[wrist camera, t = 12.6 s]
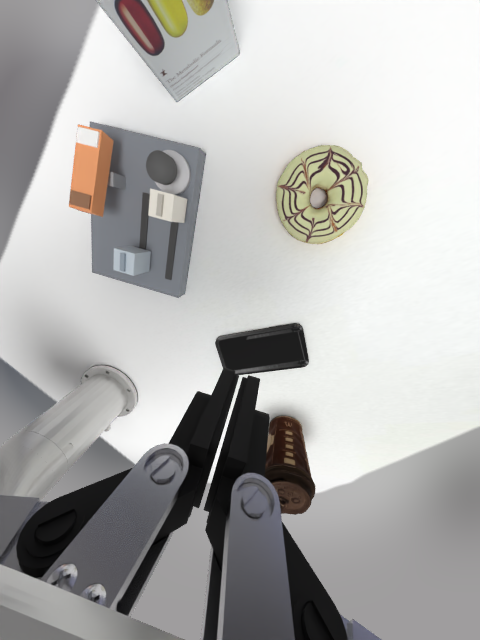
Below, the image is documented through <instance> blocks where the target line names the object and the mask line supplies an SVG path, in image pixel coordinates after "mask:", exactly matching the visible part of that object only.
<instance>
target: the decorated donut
mask: <svg viewBox="0 0 480 640" xmlns="http://www.w3.org/2000/svg"><path fill="white" fill-rule="evenodd" d="M367 184H368V177H367V175H366V173H365V172H364V171H363V170H362V163H361V162H360V161H358V160H357V159H356V158H354V157H353V156H352V155H351V154H350V153H349V152H348V151H347V150H345V149H343V148H342V147H339V146H335V145H321V146H318V147H314V148H311V149H309V150H307V151H304V152H303V153H301V154H300V155H298V156H297V157H296V158H294V159H293V160H292V161H291V162H290V163H289V164H288V165H287V167H286V168H285V170H284V172H283V174H282V175H281V177H280V179H279V181H278V184H277V192H276V201H277V208H278V214H279V217H280V219H281V222H282V223H283V225H284V227H285V228H286V230H287V231H288V232H289V234H290V235H291V236H293V237H294V238H296V239H297V240H300V241H303V242H306V243H311V244H322V243H326V242H329V241H331V240H333V239H335V238H336V237H339V236H340V235H342V234H343V233H344V232H346V231H347V230H349V229H350V228H351V227H352V226H353V225H354V224H355V223H356V222H357V220H358V219H359V218H360V215H361V214H362V211H363V209H364V207H365V203H366V197H367ZM315 188H321V189H323V190H325V191H326V193H327V198H328V199H327V203H326V204H325V205H324V206H323V207H321V208H318V209H315V208H313V207H312V206H311V204H310V196H311V193H312V191H313V190H314V189H315Z"/></svg>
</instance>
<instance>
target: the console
mask: <svg viewBox="0 0 480 640" xmlns="http://www.w3.org/2000/svg"><path fill="white" fill-rule="evenodd" d="M90 127H91V128H95V129H99V130H102V131H103V132H104V133H106V134H107V135H108V136H109V137H110V138H111V139H112V140H113V141H114V142H113V149H112V156H111V163H110V170H109V177H108V184H107V191H106V198H105V206H104V213H103V217H101V216H97V215H93V214H91V229H92V272H93V273H96V274H100V275H103V276H106V277H110V278H113V279H117V280H120V281H123V282H127V283H130V284H134V285H137V286H140V287H144V288H147V289H150V290H154V291H157V292H161V293H164V294H167V295H171V296H174V297H177V298H179V297H181V296H182V295H184V294H185V289H186V282H187V276H188V269H189V262H190V256H191V249H192V243H193V236H194V229H195V223H196V216H197V209H198V203H199V196H200V189H201V183H202V176H203V170H204V163H205V156H206V154H205V153H204V152H203V151H202V150H201V149H200V148H198V147H194V146H189V145H185V144H181V143H177V142H173V141H169V140H165V139H160V138H156V137H152V136H148V135H144V134H140V133H136V132H131V131H127V130H123V129H119V128H115V127H111V126H107V125H102V124H98V123H94V122H90ZM155 150H160V151H163V152H164V153H166V154H167V155H169V156H170V157H172V158H173V159H174V161H175V163H176V165H177V177H176V179H175V181H174V182H173V183H171V184H169V185H163V184H160V183H158V182H155V181H154V180H152V179H151V178H150V176H149V175H148V173H147V169H146V161H147V157H148V156H149V154H150V153H151V152H153V151H155ZM150 188H151V189H154V190H158V191H162V192H166V193H170V194H174V195H177V196H180V197H183V198H186V199H187V206H186V214H185V221H184V223H179V222H170V221H166V220H162V219H159V218H155V217H151V216H148V213H149V199H150ZM128 246H134V247H137V248H141V249H144V250H148V251H151V256H150V268H149V271H148V272H145V273H141V274H138V275H135V276H132V275H129V274H126V273H122V272H119V271H115V270H113V265H114V248H118V247H128Z"/></svg>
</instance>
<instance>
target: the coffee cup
mask: <svg viewBox="0 0 480 640" xmlns="http://www.w3.org/2000/svg"><path fill="white" fill-rule="evenodd" d="M265 478H266V479H268V480H269V481H270V483H271V484H272V485H273V486H274V488H275V490H276V492H277V494H278V498H279V502H280V510H281V514H282V513H287V514H302V513H304V512H305V511H306V510H307V509H308V508H309V507H310V505H311V500H312V499H313V497H314V494H315V484H314V482H313V480H312V478H311V473H310V468H309V463H308V458H307V452H306V449H305V442H304V436H303V433H302V426H301V424H300V422H299V421H298V420H296V419H294V418H292V417H288V416H279V417H276V418H274V419H273V420H272V421H271V422H270V425H269V435H268V442H267V454H266V466H265Z"/></svg>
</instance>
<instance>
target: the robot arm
mask: <svg viewBox="0 0 480 640" xmlns="http://www.w3.org/2000/svg"><path fill="white" fill-rule="evenodd" d="M238 378H239V376H238V375H235V371H233V370H230V369H227V368H224V369H223V371H222V373H221V375H220V377H219V380H218V382H217V384H216V386H215V389H214V391H213V393H212V395H208V394H205V393H202V392H199V391H198V392H197V393H196V394H195V396H194V398H193V400H192V402H191V404H190V405H189V407H188V409H187V411H186V413H185V415H184V416H183V418H182V420H181V422H180V424H179V426H178V427H177V429H176V431H175V433H174V435H173V437H172V438H171V440H170V442H169V444H161V445H157V446H155V447H153V448H151V449H150V450H149V451H147V452H146V453H145V454H144V455H143V457H142V458H141V459H140V460H139V461H138V463H137V464H136V465H135V466H134V467H133V468H131V469H129V470H126V471H124V472H121V473H119V474H116V475H114V476H111V477H109V478H106V479H104V480H101V481H99V482H96V483H94V484H91V485H89V486H86V487H84V488H81V489H79V490H76V491H74V492H71V493H69V494H67V495H64V496H61V497H59V498H57V499H55V500H53V501H51V502H41V501H42V499H43V498H44V497H45V496H46V495H47V494H48V492H49V491H50V490H51V489H52V488H53V487H54V486H55V485H56V483H57V482H58V481H59V480H60V479H61V478H62V477H63V476H64V474H65V473H66V472H67V471H68V470H69V469H70V468H71V467H72V466H73V465H74V464H75V462H76V461H77V460H78V459H79V458H80V457H81V456H82V455H83V454H84V453H85V451H86V450H87V449H88V448H89V447H90V446H91V445H92V444H93V443H94V441H95V440H96V439H97V438H98V437H99V436H100V435H101V434H102V433H103V432H104V431H109V430H110V424H111V423H112V422H113V420H114V419H115V418H116V417H121V416H125V415H127V414H129V413H130V412H131V411H132V410H133V409H134V408H135V406H136V404H137V392H136V389H135V387H134V385H133V383H132V382H131V381H130V379H129V378H128V377H127V376H126V375H124V374H123V373H122V372H120V371H119V370H117V369H115V368H112V367H109V366H104V365H99V366H94V367H92V368H90V369H89V370H87V371H86V372H85V373H84V374H83V376H82V379H81V385H80V386H79V387H77V388H76V389H75V390H73V391H72V392H71V393H69V394H68V395H67V396H65V397H64V398H63V399H61V400H60V401H59V402H57V403H56V404H55V405H53V406H52V407H51V408H49V409H48V410H47V411H45V412H44V413H43V414H42V415H41V416H39V417H38V418H36V419H35V420H33V421H32V422H31V423H29V424H28V425H27V426H25V427H24V428H23V429H22V430H20V431H19V432H17V433H16V434H15V435H14V436H12V437H11V438H10V439H8V440H7V441H6V442H5V443H4V444H3V445H2V446H1V447H0V640H184V639H181V638H179V637H177V636H174V635H172V634H170V633H167V632H165V631H162V630H160V629H157V628H155V627H153V626H150V625H148V624H146V623H143V622H141V621H138V620H136V619H133V618H131V615H132V613H133V611H134V609H135V607H136V605H137V603H138V602H139V599H140V597H141V596H142V594H143V592H144V590H145V587H146V586H147V584H148V582H149V580H150V578H151V576H152V574H153V572H154V570H155V568H156V566H157V564H158V562H159V560H160V558H161V556H162V554H163V552H164V550H165V548H166V546H167V544H168V542H169V540H170V539H171V537H172V534H173V531H174V530H176V529H178V528H180V527H181V526H183V525H184V524H186V523H187V521H188V518H189V517H190V515H191V512H192V509H193V506H194V507H197V508H199V506H200V503H201V500H202V497H203V493H204V490H205V487H206V484H207V481H208V477H209V474H210V471H211V468H212V464H213V461H214V458H215V455H216V451H217V448H218V445H219V442H220V439H221V435H222V432H223V429H224V426H225V422H226V419H227V415H228V412H229V409H230V405H231V402H232V398H233V395H234V392H235V388H236V385H237V381H238ZM259 382H260V379H259V378H256V377H252V376H249V375H248V378H245V377H243V378H242V381H241V385H240V388H239V391H238V395H237V398H236V401H235V405H234V408H233V411H232V415H231V418H230V421H229V425H228V428H227V431H226V435H225V438H224V442H223V445H222V449H221V452H220V456H219V459H218V462H217V466H216V469H215V473H214V476H213V480H212V483H211V487H210V490H209V493H208V497H207V501H206V504H205V507H204V510H205V511H208V512H209V516H208V519H207V526H206V533H207V535H208V538H209V540H210V543H211V545H212V547H211V552H210V560H209V570H208V578H207V586H206V595H205V603H204V612H203V621H202V629H201V638H200V640H381V639H380V638H379V637H377V636H376V635H374V634H373V633H372V632H370V631H369V630H367V629H366V628H365V627H363V626H362V625H361V624H359V623H358V622H357V621H355V620H354V619H352V620H351V621H349V620H347V619H346V618H344V617H343V616H342V615H340V614H339V612H338V610H337V608H336V606H335V604H334V603H333V601H332V600H331V598H330V596H329V595H328V593H327V592H326V590H325V589H324V587H323V585H322V584H321V582H320V581H319V579H318V578H317V576H316V574H315V573H314V572H313V570H312V568H311V567H310V565H309V563H308V562H307V560H306V559H305V557H304V555H303V554H302V552H301V551H300V549H299V548H298V546H297V544H296V543H295V541H294V540H293V538H292V537H291V535H290V533H289V532H288V530H287V529H286V527H285V525H284V524H283V522H282V519H281V510H280V502H279V498H278V494H277V492H276V490H275V488H274V486H273V485H272V484H271V483H270V481H269V480H268V479H266V478H265V466H266V454H267V442H268V429H269V414H266V413H263V412H260V411H257V410H255V407H256V401H257V395H258V388H259Z"/></svg>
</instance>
